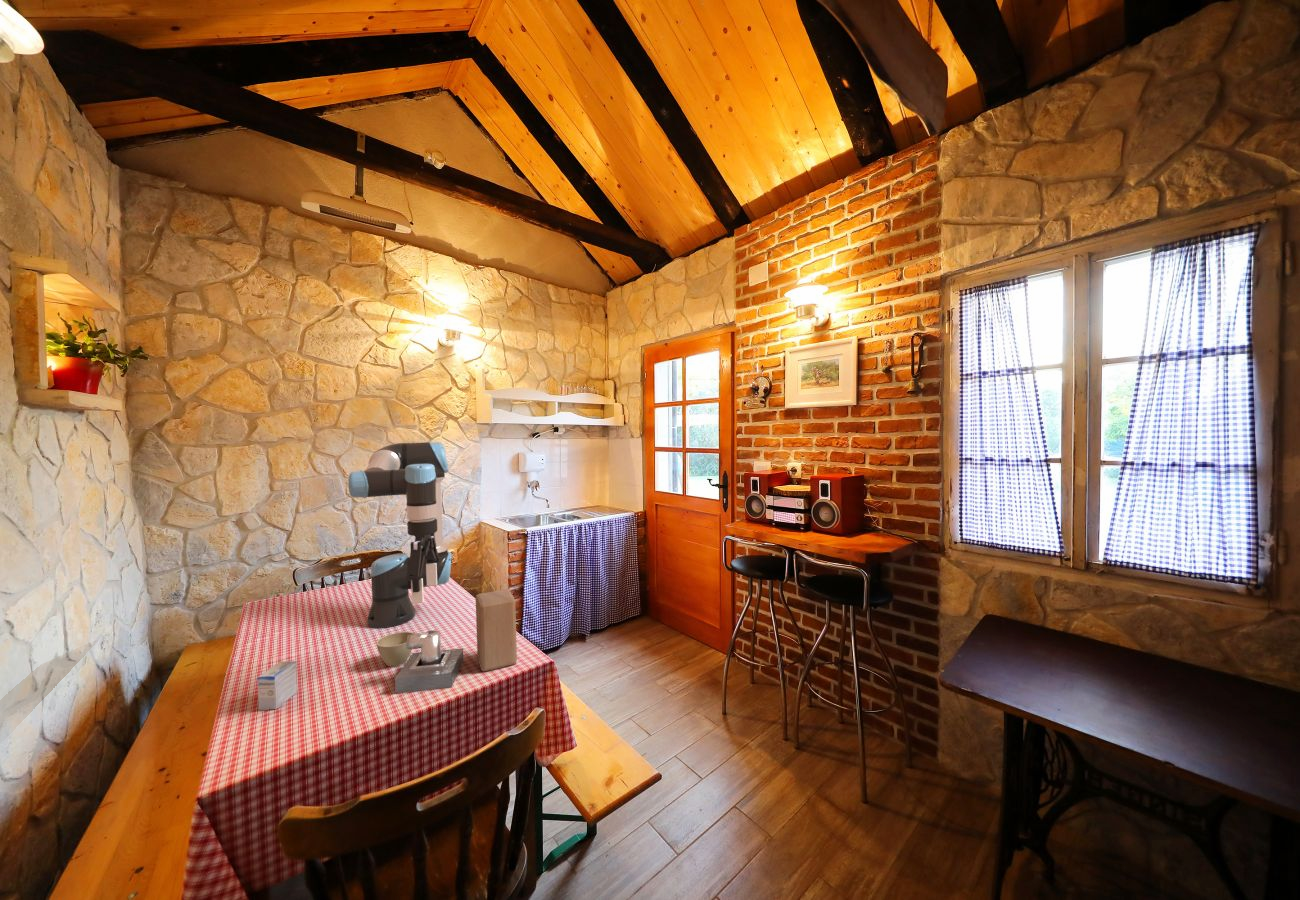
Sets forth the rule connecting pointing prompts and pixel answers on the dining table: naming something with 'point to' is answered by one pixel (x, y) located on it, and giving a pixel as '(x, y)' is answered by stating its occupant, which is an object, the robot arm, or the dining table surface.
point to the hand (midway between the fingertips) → (425, 593)
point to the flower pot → (394, 648)
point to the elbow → (426, 646)
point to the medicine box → (277, 685)
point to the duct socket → (429, 672)
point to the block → (496, 629)
